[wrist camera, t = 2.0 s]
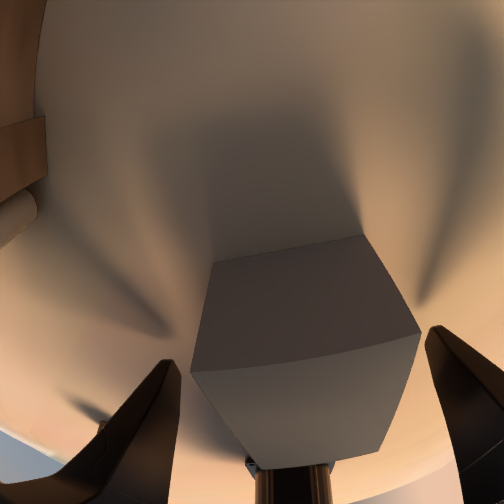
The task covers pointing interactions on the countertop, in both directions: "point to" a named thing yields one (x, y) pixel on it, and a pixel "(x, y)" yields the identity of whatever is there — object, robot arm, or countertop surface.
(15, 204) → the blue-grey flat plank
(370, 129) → the countertop surface
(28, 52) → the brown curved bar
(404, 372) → the grey rectangular block
